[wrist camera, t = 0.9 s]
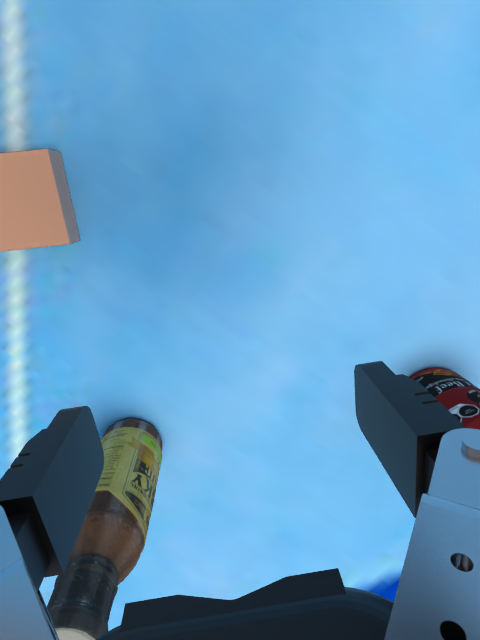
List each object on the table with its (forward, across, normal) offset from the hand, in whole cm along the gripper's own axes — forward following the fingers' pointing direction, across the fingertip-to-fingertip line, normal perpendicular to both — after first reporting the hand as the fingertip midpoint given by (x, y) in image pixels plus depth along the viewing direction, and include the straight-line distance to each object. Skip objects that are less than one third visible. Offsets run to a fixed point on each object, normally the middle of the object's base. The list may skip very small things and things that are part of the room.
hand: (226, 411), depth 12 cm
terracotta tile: (+25, +15, -7) cm, 30 cm away
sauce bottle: (+24, +11, +17) cm, 32 cm away
